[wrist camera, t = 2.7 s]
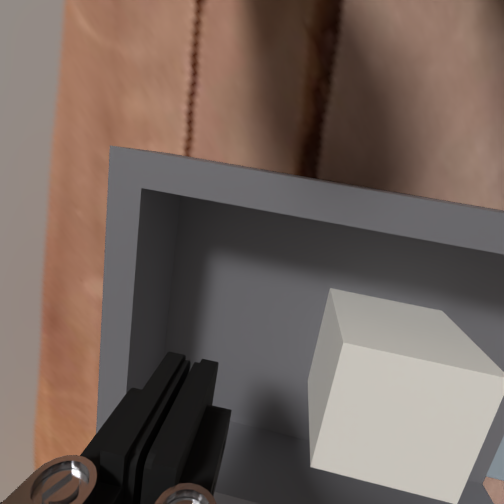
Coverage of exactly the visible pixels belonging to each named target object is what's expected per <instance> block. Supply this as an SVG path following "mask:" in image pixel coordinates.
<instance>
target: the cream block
mask: <svg viewBox="0 0 504 504" xmlns="http://www.w3.org/2000/svg"><path fill="white" fill-rule="evenodd" d="M503 396H504V372H503V371H502V370H501V369H500V368H499V367H498V366H497V365H496V364H495V363H494V362H493V361H492V360H491V359H490V358H489V357H488V356H487V355H486V354H485V353H484V352H483V351H482V350H481V349H480V348H479V347H478V346H477V345H476V344H475V343H474V342H473V341H472V340H471V339H470V338H469V337H468V336H467V335H466V334H465V333H464V332H463V331H462V330H461V329H460V328H459V327H458V326H457V325H456V324H455V323H454V322H453V321H452V320H451V319H450V318H449V317H448V316H447V315H446V314H445V313H444V312H443V311H441V310H436V309H431V308H426V307H421V306H416V305H411V304H406V303H401V302H396V301H392V300H387V299H382V298H377V297H372V296H367V295H362V294H357V293H352V292H347V291H342V290H337V289H332V288H330V290H329V294H328V298H327V302H326V306H325V311H324V315H323V319H322V323H321V327H320V331H319V336H318V340H317V344H316V348H315V352H314V356H313V360H312V365H311V369H310V373H309V377H308V407H309V439H310V467H313V468H316V469H320V470H324V471H328V472H332V473H336V474H340V475H344V476H348V477H351V478H355V479H359V480H363V481H367V482H371V483H375V484H379V485H383V486H386V487H390V488H394V489H398V490H402V491H406V492H410V493H414V494H418V495H421V496H425V497H429V498H433V499H437V500H441V501H445V502H449V503H452V504H457V503H458V501H459V499H460V496H461V494H462V492H463V489H464V487H465V485H466V482H467V480H468V478H469V475H470V473H471V471H472V468H473V466H474V464H475V461H476V459H477V457H478V454H479V452H480V450H481V447H482V445H483V443H484V440H485V438H486V436H487V433H488V431H489V429H490V426H491V424H492V422H493V419H494V417H495V415H496V412H497V410H498V408H499V405H500V403H501V401H502V398H503Z"/></svg>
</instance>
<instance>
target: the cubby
mask: <svg viewBox="0 0 504 504" xmlns="http://www.w3.org/2000/svg"><path fill="white" fill-rule="evenodd" d="M330 288H332V289H337V290H342V291H347V292H352V293H357V294H362V295H367V296H372V297H377V298H382V299H387V300H392V301H396V302H401V303H406V304H411V305H416V306H421V307H426V308H431V309H436V310H441V311H443V312H444V313H445V314H446V315H447V316H448V317H449V318H450V319H451V320H452V321H453V322H454V323H455V324H456V325H457V326H458V327H459V328H460V329H461V330H462V331H463V332H464V333H465V334H466V335H467V336H468V337H469V338H470V339H471V340H472V341H473V342H474V343H475V344H476V345H477V346H478V347H479V348H480V349H481V350H482V351H483V352H484V353H485V354H486V355H487V356H488V357H489V358H490V359H491V360H492V361H493V362H494V363H495V364H496V365H497V366H498V367H499V368H500V369H501V370H502V371H503V372H504V211H502V210H497V209H491V208H485V207H479V206H473V205H467V204H462V203H456V202H450V201H444V200H438V199H432V198H427V197H421V196H415V195H409V194H403V193H397V192H391V191H386V190H380V189H374V188H368V187H362V186H356V185H351V184H345V183H339V182H333V181H327V180H321V179H316V178H310V177H304V176H298V175H292V174H286V173H280V172H275V171H269V170H263V169H257V168H251V167H245V166H240V165H234V164H228V163H222V162H216V161H210V160H204V159H199V158H193V157H187V156H181V155H175V154H169V153H163V152H156V151H148V150H140V149H133V148H125V147H117V146H110V155H109V176H108V197H107V218H106V239H105V260H104V281H103V301H102V322H101V343H100V364H99V385H98V406H97V427H96V434H97V432H98V431H99V430H100V428H101V427H102V426H103V424H104V423H105V421H106V420H107V419H108V417H109V416H110V415H111V413H112V412H113V411H114V409H115V408H116V407H117V405H118V404H119V403H120V401H121V400H122V399H123V397H124V396H125V395H126V393H127V392H128V391H129V390H130V389H131V388H137V389H143V388H144V386H145V385H146V383H147V382H148V380H149V379H150V377H151V376H152V374H153V373H154V372H155V370H156V369H157V367H158V366H159V364H160V363H161V361H162V360H163V358H164V357H165V355H166V354H167V353H168V352H174V353H179V354H183V355H185V356H186V360H189V361H190V370H191V368H192V366H193V364H194V362H198V363H200V361H201V360H202V359H206V360H211V361H216V362H218V363H219V364H218V372H217V378H216V384H215V391H214V397H213V403H212V406H217V407H221V408H226V409H230V410H232V411H231V418H230V424H229V429H228V435H227V440H226V445H225V449H224V454H223V458H222V462H221V467H220V471H219V475H218V479H217V483H216V487H215V492H214V496H213V497H214V499H215V501H216V503H217V504H452V503H449V502H445V501H441V500H437V499H433V498H429V497H425V496H421V495H418V494H414V493H410V492H406V491H402V490H398V489H394V488H390V487H386V486H383V485H379V484H375V483H371V482H367V481H363V480H359V479H355V478H351V477H348V476H344V475H340V474H336V473H332V472H328V471H324V470H320V469H316V468H313V467H310V439H309V407H308V377H309V373H310V369H311V365H312V360H313V356H314V352H315V348H316V344H317V340H318V336H319V331H320V327H321V323H322V319H323V315H324V311H325V306H326V302H327V298H328V294H329V290H330ZM189 372H190V371H189ZM486 476H487V477H491V478H495V479H499V480H503V481H504V396H503V398H502V401H501V403H500V405H499V408H498V410H497V412H496V415H495V417H494V419H493V422H492V424H491V426H490V429H489V431H488V433H487V436H486V438H485V440H484V443H483V445H482V447H481V450H480V452H479V454H478V457H477V459H476V461H475V464H474V466H473V468H472V471H471V473H470V475H469V478H468V480H467V482H466V485H465V487H464V489H463V492H462V494H461V496H460V499H459V501H458V503H457V504H494V503H493V502H492V500H491V498H490V496H489V495H488V493H487V491H486V489H485V488H484V486H483V481H484V479H485V477H486Z"/></svg>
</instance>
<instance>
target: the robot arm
mask: <svg viewBox="0 0 504 504" xmlns="http://www.w3.org/2000/svg"><path fill="white" fill-rule="evenodd" d="M218 364H219V363H218V362H216V361H211V360H206V359H202V360H201V361H200V363H198V362H194V364H193V366H192V368H191V370H190V361H189V360H186V356H185V355H183V354H179V353H174V352H168V353H167V354H166V355H165V357H164V358H163V360H162V361H161V363H160V364H159V366H158V367H157V369H156V370H155V372H154V373H153V374H152V376H151V377H150V379H149V380H148V382H147V383H146V385H145V386H144V388H143V389H137V388H131V389H130V390H129V391H128V392H127V393H126V395H125V396H124V397H123V399H122V400H121V401H120V403H119V404H118V405H117V407H116V408H115V409H114V411H113V412H112V413H111V415H110V416H109V417H108V419H107V420H106V421H105V423H104V424H103V426H102V427H101V428H100V430H99V431H98V432H97V434H96V435H95V436H94V438H93V439H92V440H91V442H90V443H89V444H88V446H87V447H86V448H85V450H84V451H83V453H82V454H81V455H80V456H78V455H67V456H63V457H59V458H55V459H53V460H51V461H49V462H47V463H45V464H44V465H42V466H41V467H40V468H38V469H37V470H36V471H34V472H33V473H32V474H31V475H30V476H29V477H28V478H27V479H26V480H25V481H24V482H23V483H22V484H21V485H20V486H19V487H18V488H17V489H15V490H14V491H13V492H12V493H11V494H10V495H9V496H8V497H7V498H6V499H5V500H4V501H3V502H1V503H0V504H217V503H216V501H215V499H214V497H213V496H214V492H215V487H216V483H217V479H218V475H219V471H220V467H221V462H222V458H223V454H224V449H225V445H226V440H227V435H228V429H229V424H230V418H231V411H232V410H230V409H226V408H221V407H217V406H212V403H213V397H214V391H215V384H216V378H217V372H218ZM189 371H190V372H189Z"/></svg>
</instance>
